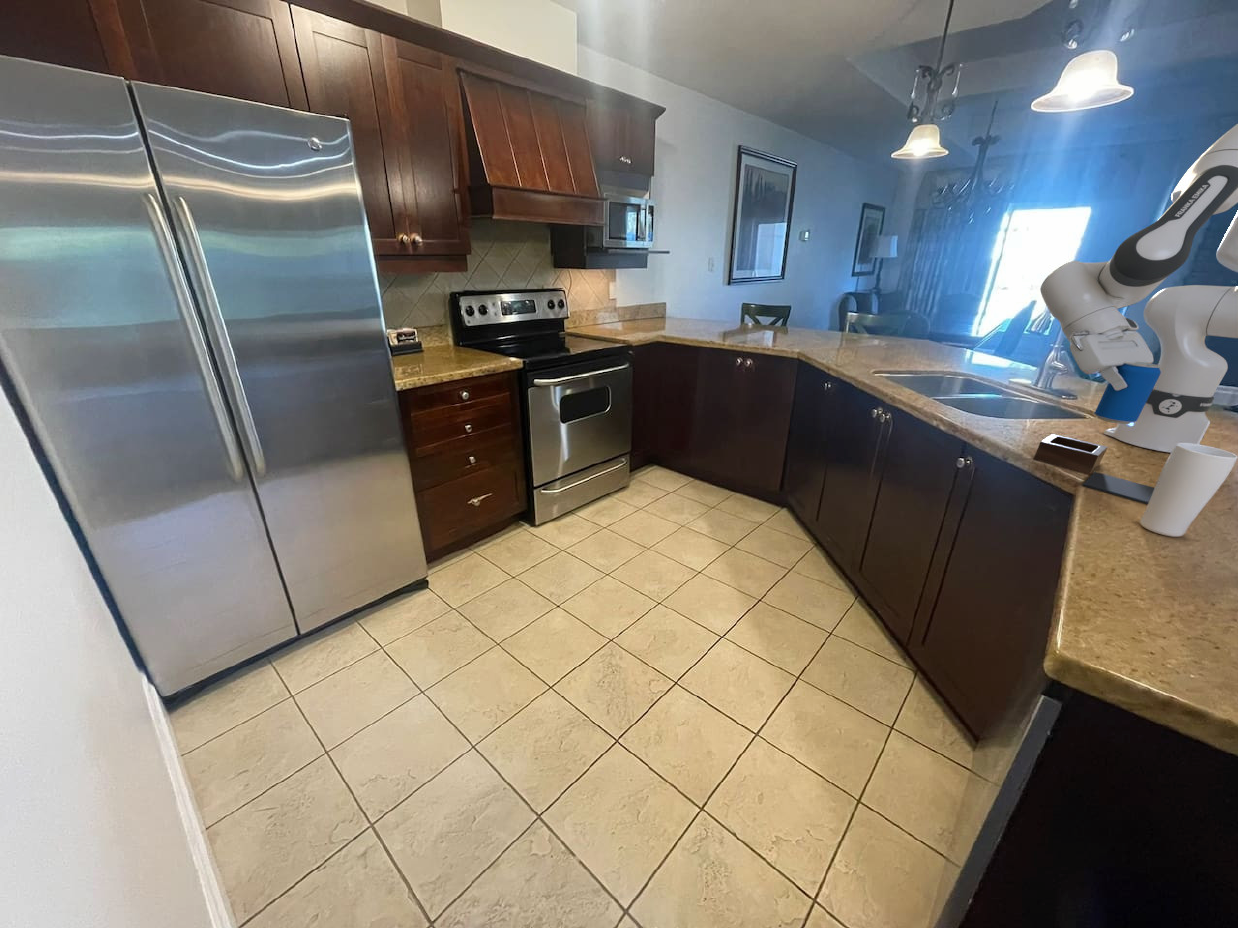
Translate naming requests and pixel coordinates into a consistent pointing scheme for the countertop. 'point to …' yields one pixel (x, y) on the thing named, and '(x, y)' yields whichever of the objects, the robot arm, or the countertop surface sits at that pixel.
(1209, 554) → the countertop surface
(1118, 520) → the countertop surface
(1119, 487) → the coaster
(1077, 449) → the box
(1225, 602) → the countertop surface
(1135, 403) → the beverage can
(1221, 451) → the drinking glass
